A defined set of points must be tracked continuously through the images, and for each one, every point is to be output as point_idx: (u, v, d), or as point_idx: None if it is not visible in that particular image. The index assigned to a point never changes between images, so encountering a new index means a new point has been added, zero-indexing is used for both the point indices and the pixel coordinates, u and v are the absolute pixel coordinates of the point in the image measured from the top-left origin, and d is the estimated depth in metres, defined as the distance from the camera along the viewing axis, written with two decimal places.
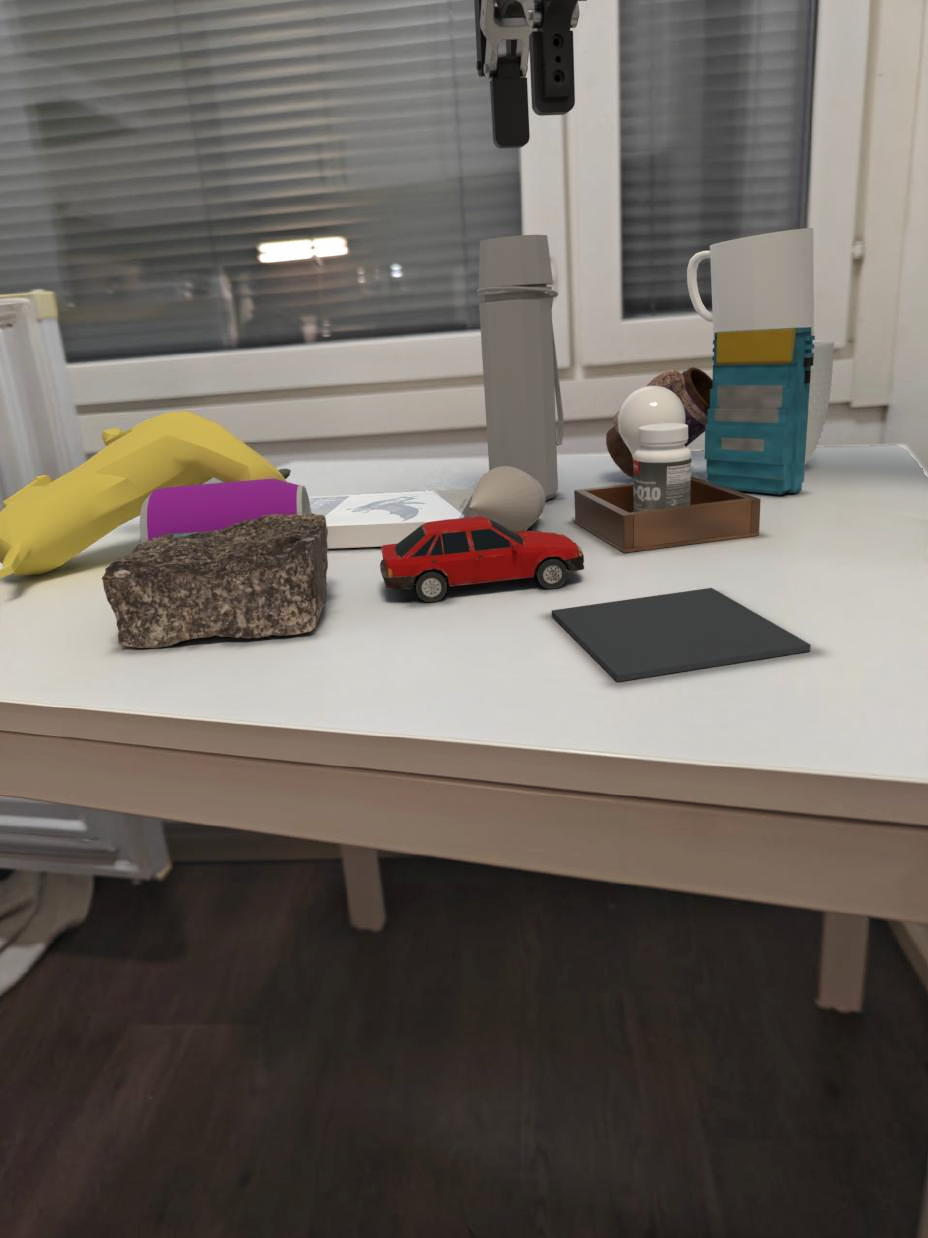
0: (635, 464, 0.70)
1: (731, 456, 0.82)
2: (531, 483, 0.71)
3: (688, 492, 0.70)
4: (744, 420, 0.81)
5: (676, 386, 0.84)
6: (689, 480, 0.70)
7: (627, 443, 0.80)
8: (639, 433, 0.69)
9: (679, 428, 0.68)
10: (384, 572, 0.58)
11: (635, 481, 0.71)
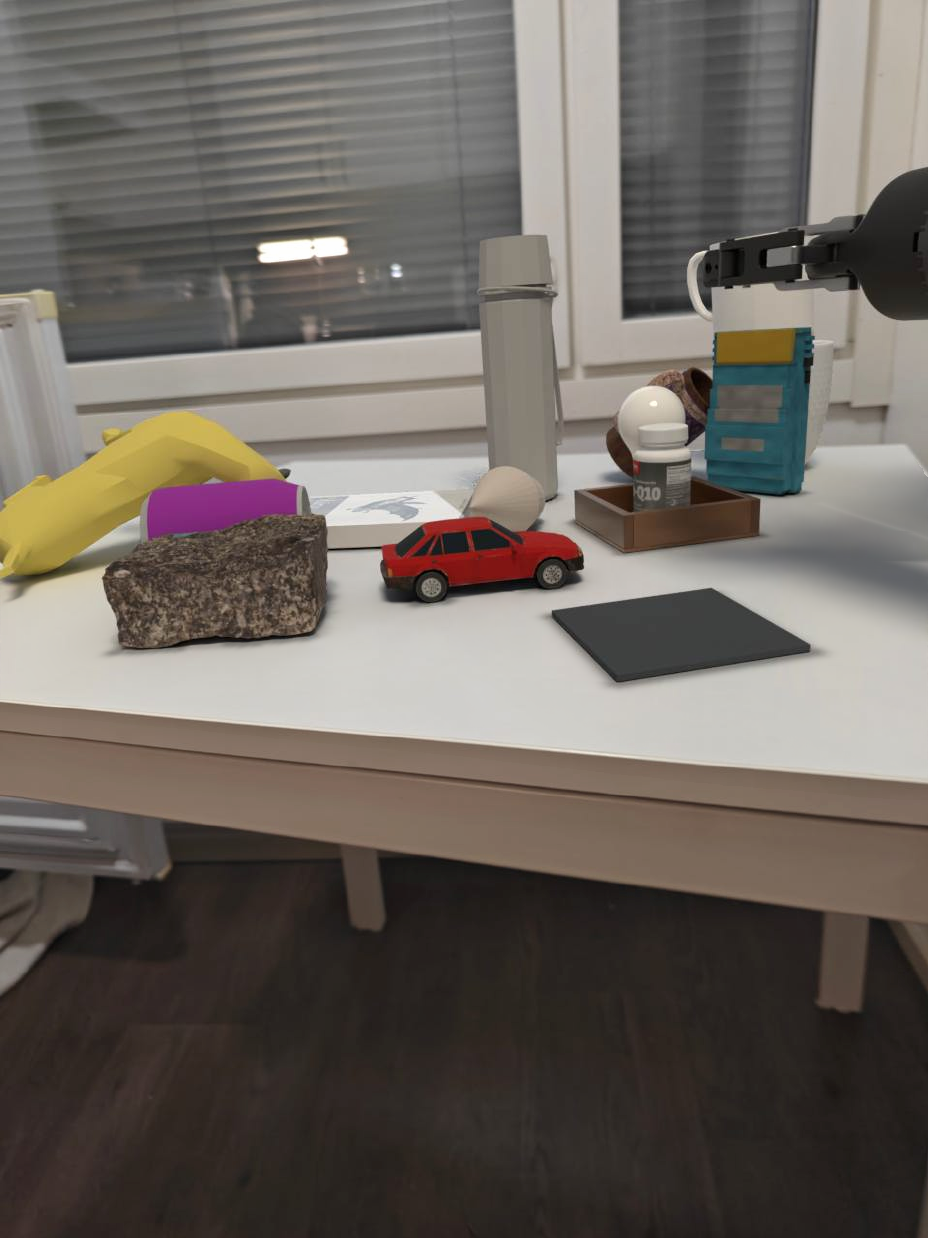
0: (635, 464, 0.70)
1: (731, 456, 0.82)
2: (531, 483, 0.71)
3: (688, 492, 0.70)
4: (744, 420, 0.81)
5: (676, 386, 0.84)
6: (689, 480, 0.70)
7: (627, 443, 0.80)
8: (639, 433, 0.69)
9: (679, 428, 0.68)
10: (384, 572, 0.58)
11: (635, 481, 0.71)
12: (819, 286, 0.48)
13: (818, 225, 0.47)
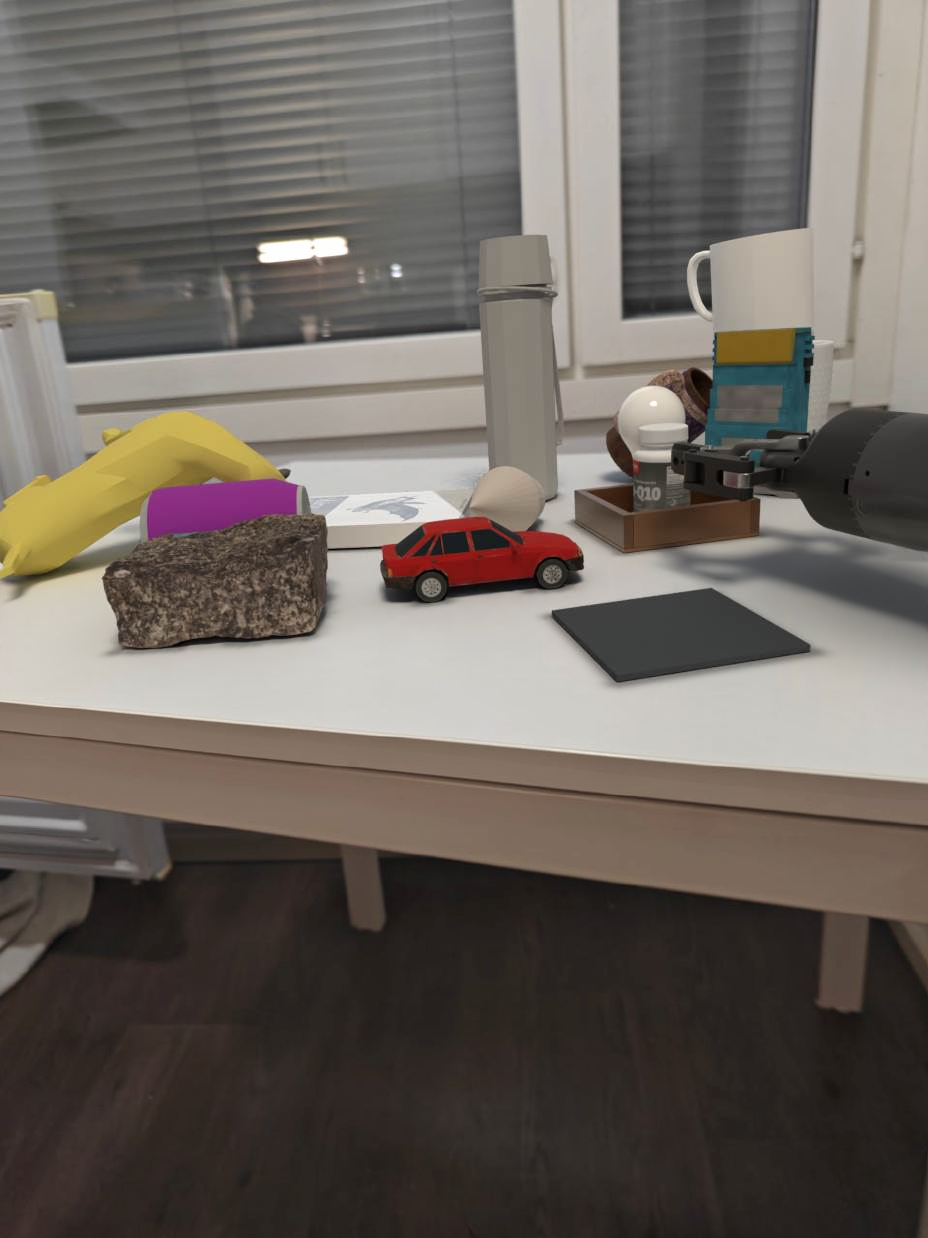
0: (635, 464, 0.70)
1: None
2: (531, 483, 0.71)
3: (688, 492, 0.70)
4: (744, 420, 0.81)
5: (676, 386, 0.84)
6: None
7: (627, 443, 0.80)
8: (639, 433, 0.69)
9: (679, 428, 0.68)
10: (384, 572, 0.58)
11: (635, 481, 0.71)
12: (770, 492, 0.55)
13: (769, 443, 0.54)
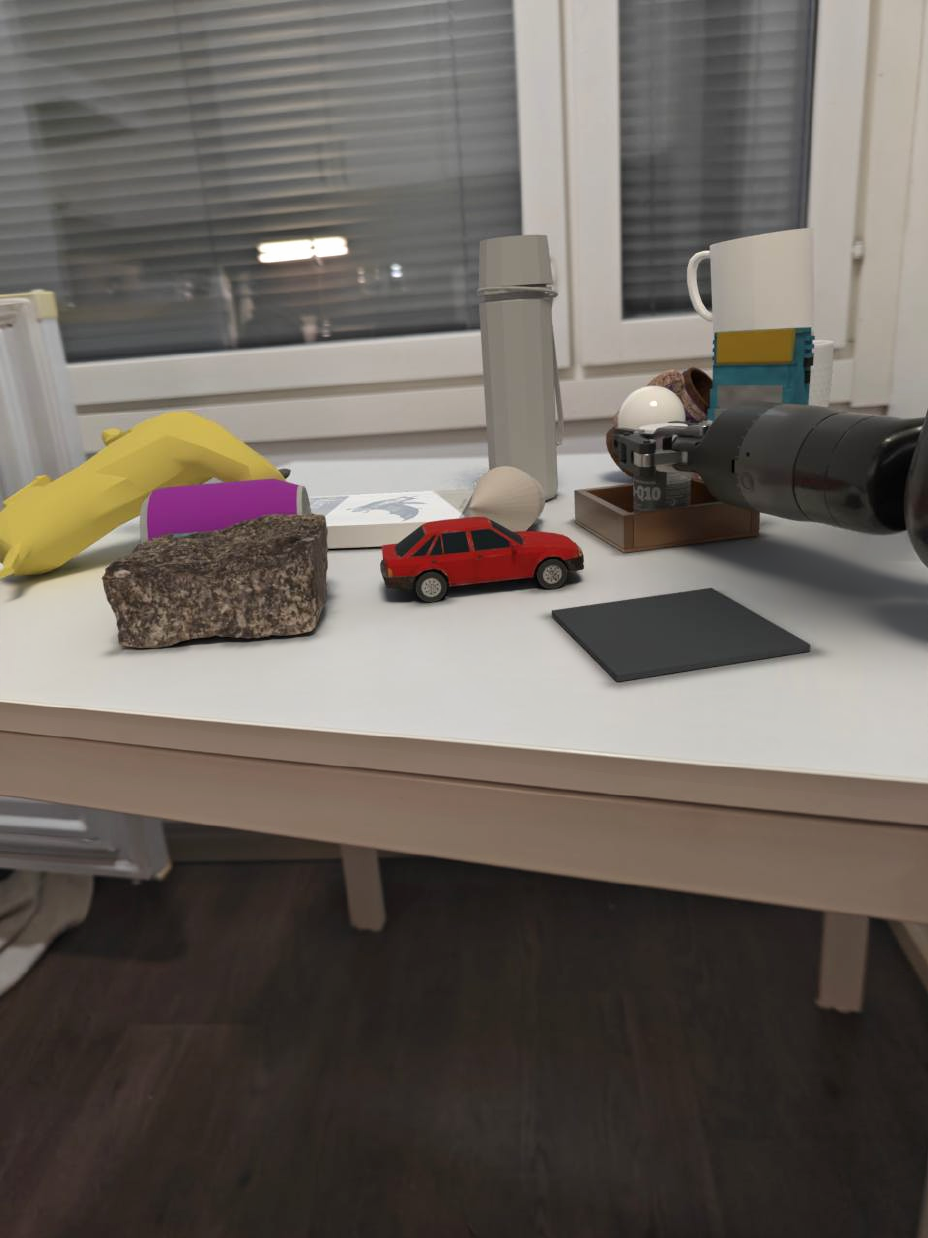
0: None
1: None
2: (531, 483, 0.71)
3: (688, 492, 0.70)
4: None
5: (676, 386, 0.84)
6: (689, 480, 0.70)
7: None
8: None
9: None
10: (384, 572, 0.58)
11: (635, 481, 0.71)
12: (681, 472, 0.64)
13: (679, 429, 0.64)
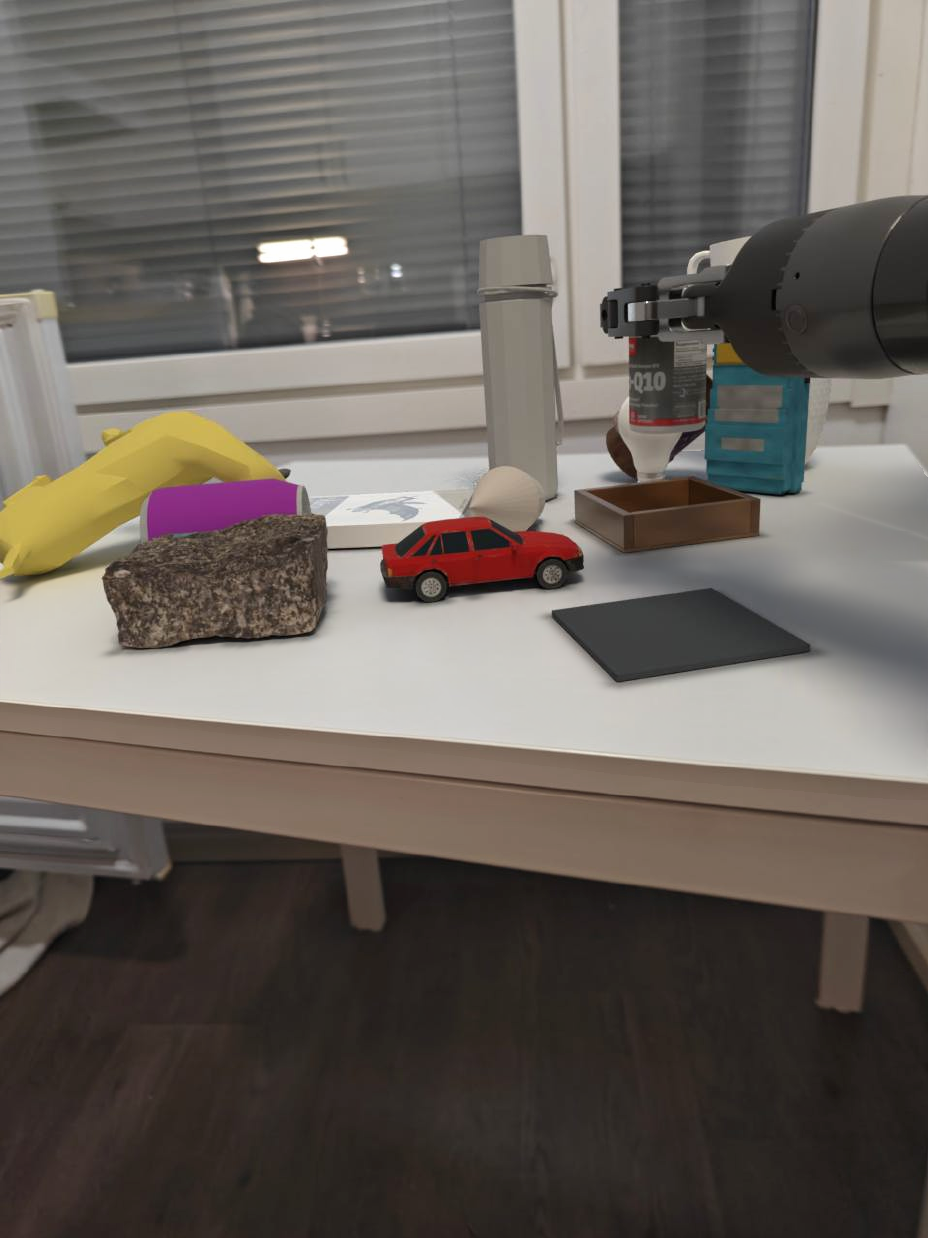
0: (631, 343, 0.52)
1: (731, 456, 0.82)
2: (531, 483, 0.71)
3: (703, 380, 0.52)
4: (744, 420, 0.81)
5: None
6: (704, 364, 0.51)
7: (627, 443, 0.80)
8: None
9: None
10: (384, 572, 0.58)
11: (631, 367, 0.52)
12: (695, 338, 0.46)
13: (691, 275, 0.45)
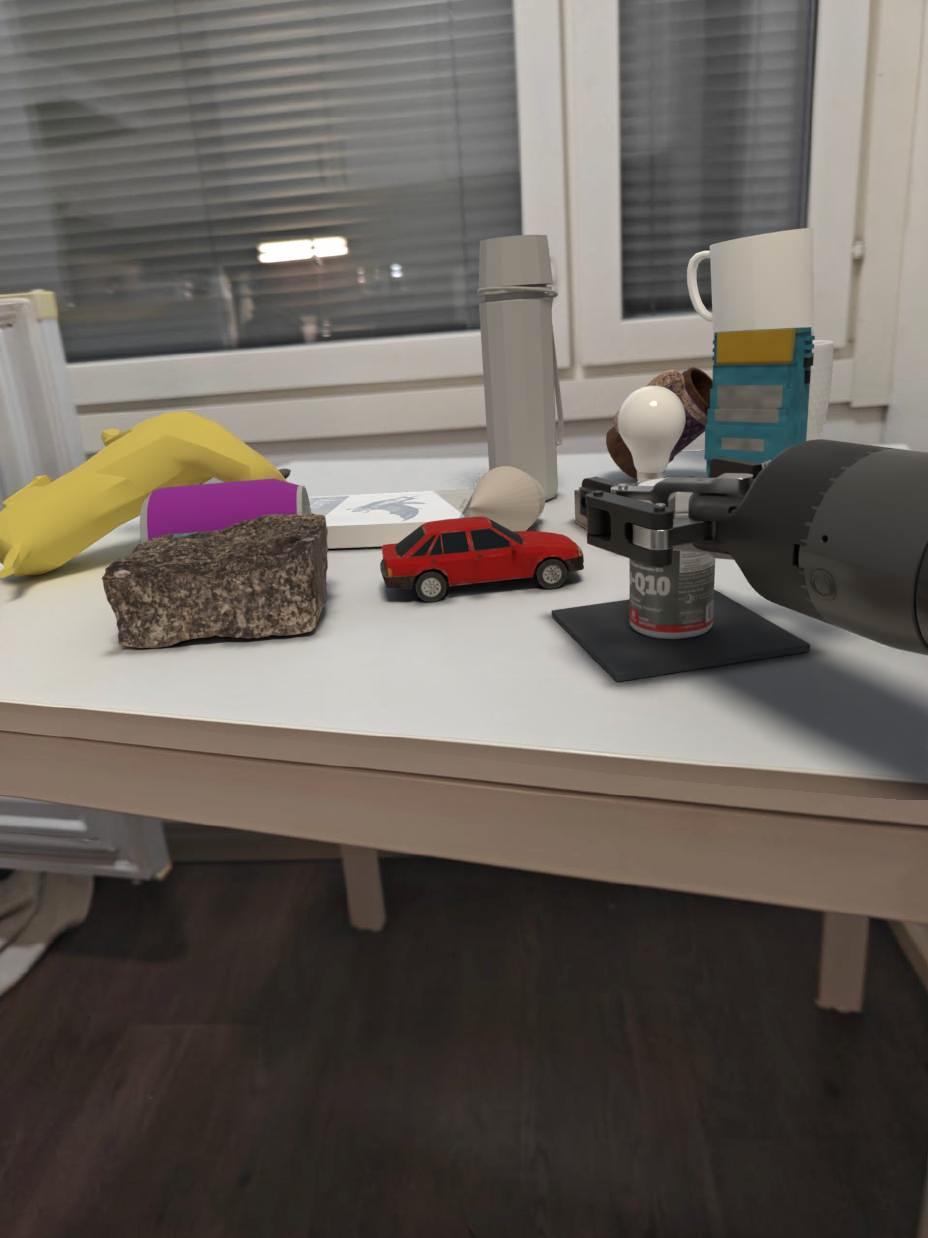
0: None
1: (731, 456, 0.82)
2: (531, 483, 0.71)
3: (711, 582, 0.47)
4: (744, 420, 0.81)
5: (676, 386, 0.84)
6: (713, 564, 0.47)
7: (627, 443, 0.80)
8: None
9: None
10: (384, 572, 0.59)
11: (632, 565, 0.47)
12: (702, 550, 0.41)
13: (698, 484, 0.40)
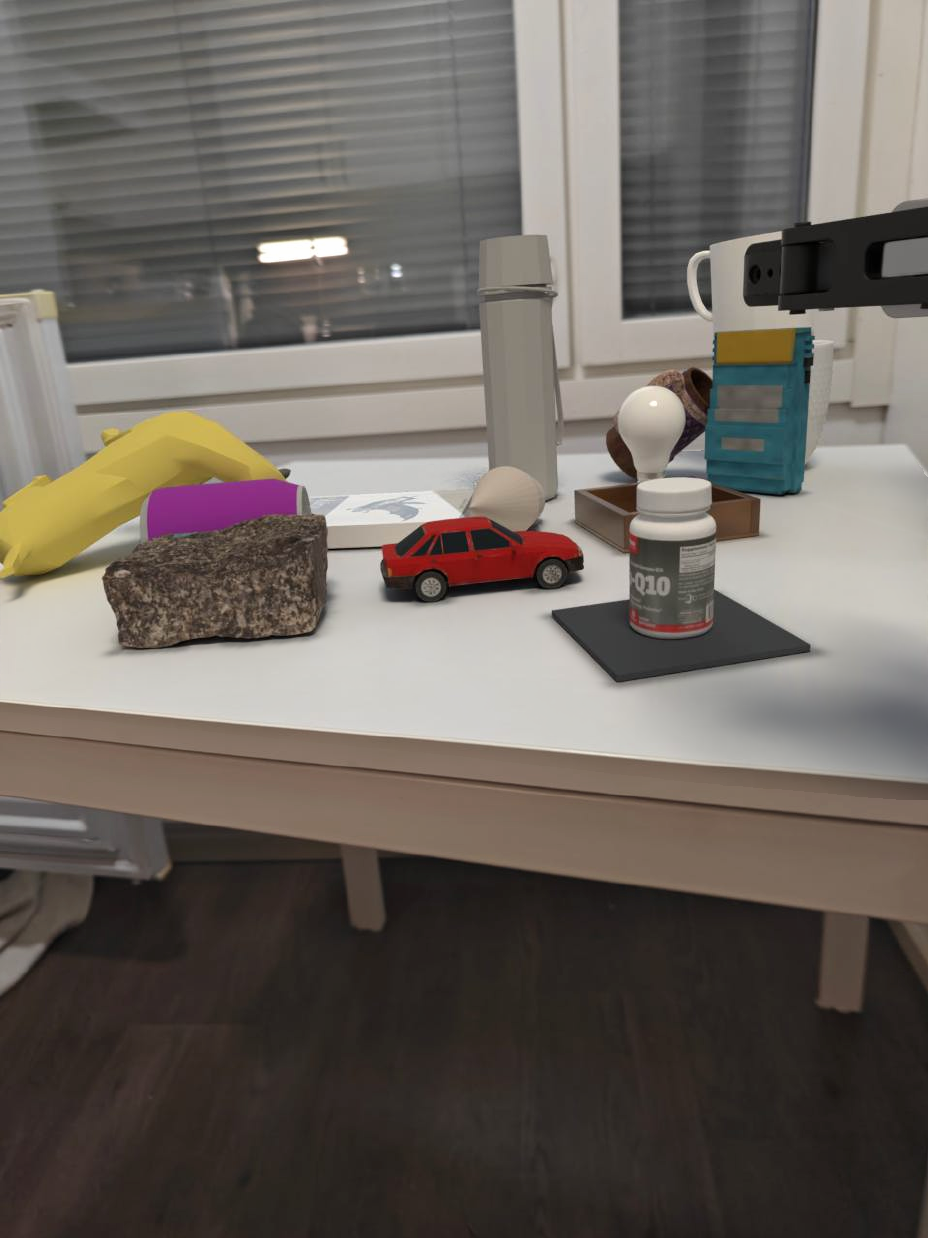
0: (632, 540, 0.47)
1: (731, 456, 0.82)
2: (531, 483, 0.71)
3: (711, 582, 0.47)
4: (744, 420, 0.81)
5: (676, 386, 0.84)
6: (713, 564, 0.47)
7: (627, 443, 0.80)
8: (638, 494, 0.46)
9: (699, 489, 0.45)
10: (384, 572, 0.59)
11: (632, 565, 0.47)
12: None
13: None
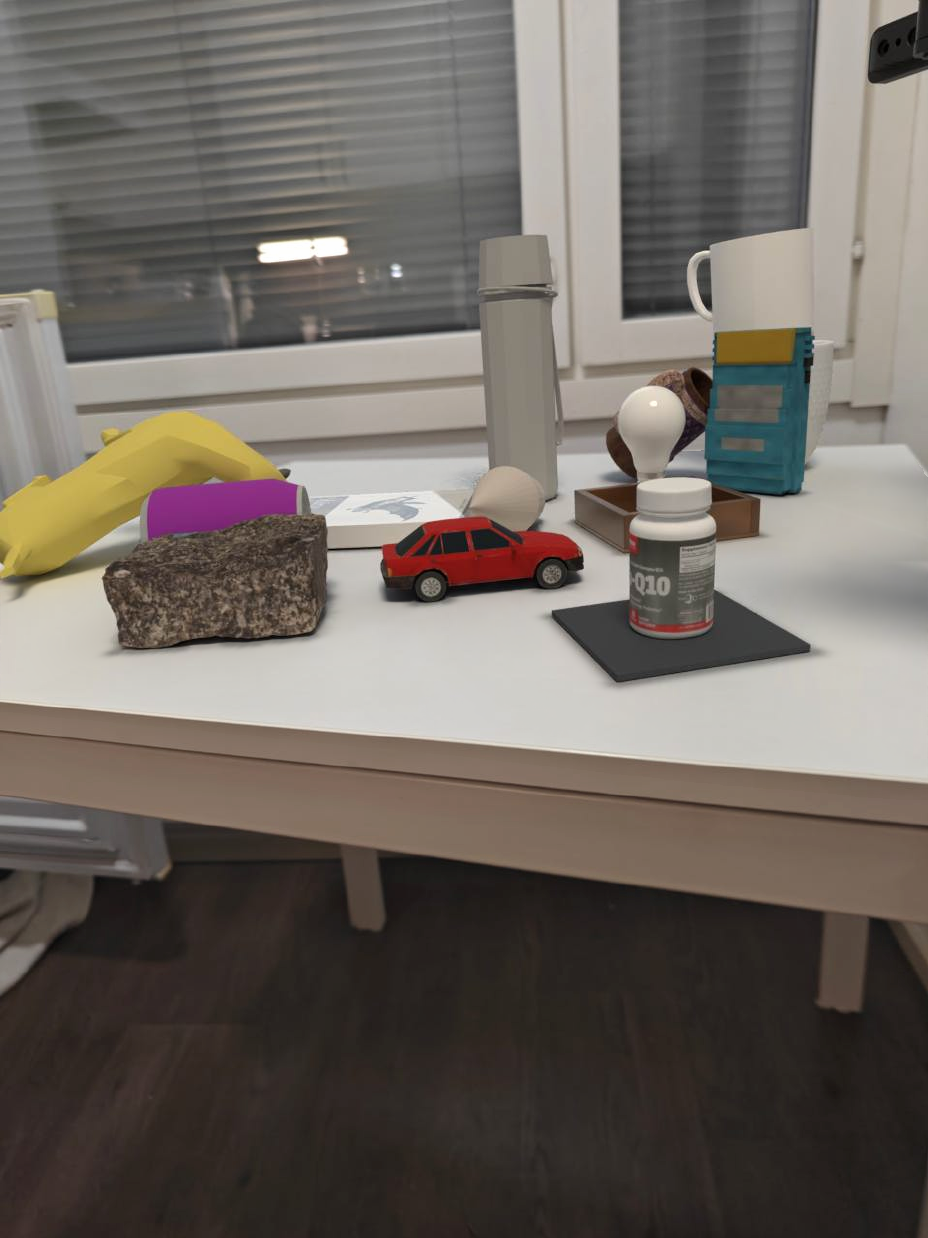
0: (632, 540, 0.47)
1: (731, 456, 0.82)
2: (531, 483, 0.71)
3: (711, 582, 0.47)
4: (744, 420, 0.81)
5: (676, 386, 0.84)
6: (713, 564, 0.47)
7: (627, 443, 0.80)
8: (638, 494, 0.46)
9: (699, 489, 0.45)
10: (384, 571, 0.59)
11: (632, 565, 0.47)
12: None
13: None
